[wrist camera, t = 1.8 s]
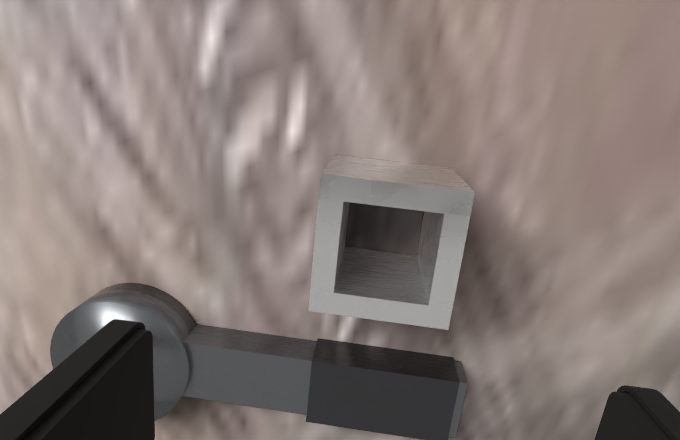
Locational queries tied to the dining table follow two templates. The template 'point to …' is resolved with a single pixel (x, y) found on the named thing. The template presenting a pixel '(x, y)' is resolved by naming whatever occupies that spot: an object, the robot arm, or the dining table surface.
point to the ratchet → (277, 368)
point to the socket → (381, 266)
